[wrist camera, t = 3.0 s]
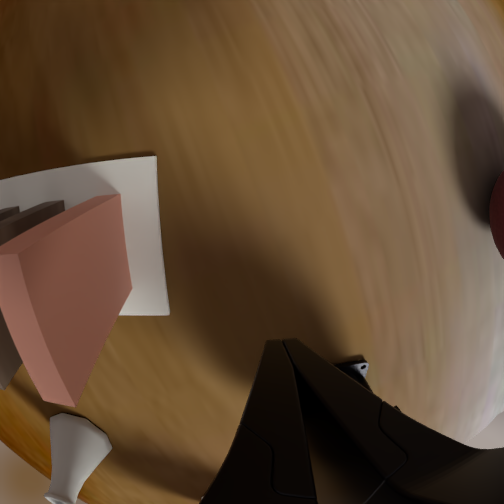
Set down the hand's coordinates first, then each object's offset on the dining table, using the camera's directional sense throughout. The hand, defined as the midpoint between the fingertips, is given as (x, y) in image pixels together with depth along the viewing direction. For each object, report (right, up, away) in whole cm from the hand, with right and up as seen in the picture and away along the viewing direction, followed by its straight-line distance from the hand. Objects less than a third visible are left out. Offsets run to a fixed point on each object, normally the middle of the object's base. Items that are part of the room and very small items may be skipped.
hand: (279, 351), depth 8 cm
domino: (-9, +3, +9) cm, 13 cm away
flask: (-19, -17, +15) cm, 30 cm away
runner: (-17, +3, +8) cm, 19 cm away
